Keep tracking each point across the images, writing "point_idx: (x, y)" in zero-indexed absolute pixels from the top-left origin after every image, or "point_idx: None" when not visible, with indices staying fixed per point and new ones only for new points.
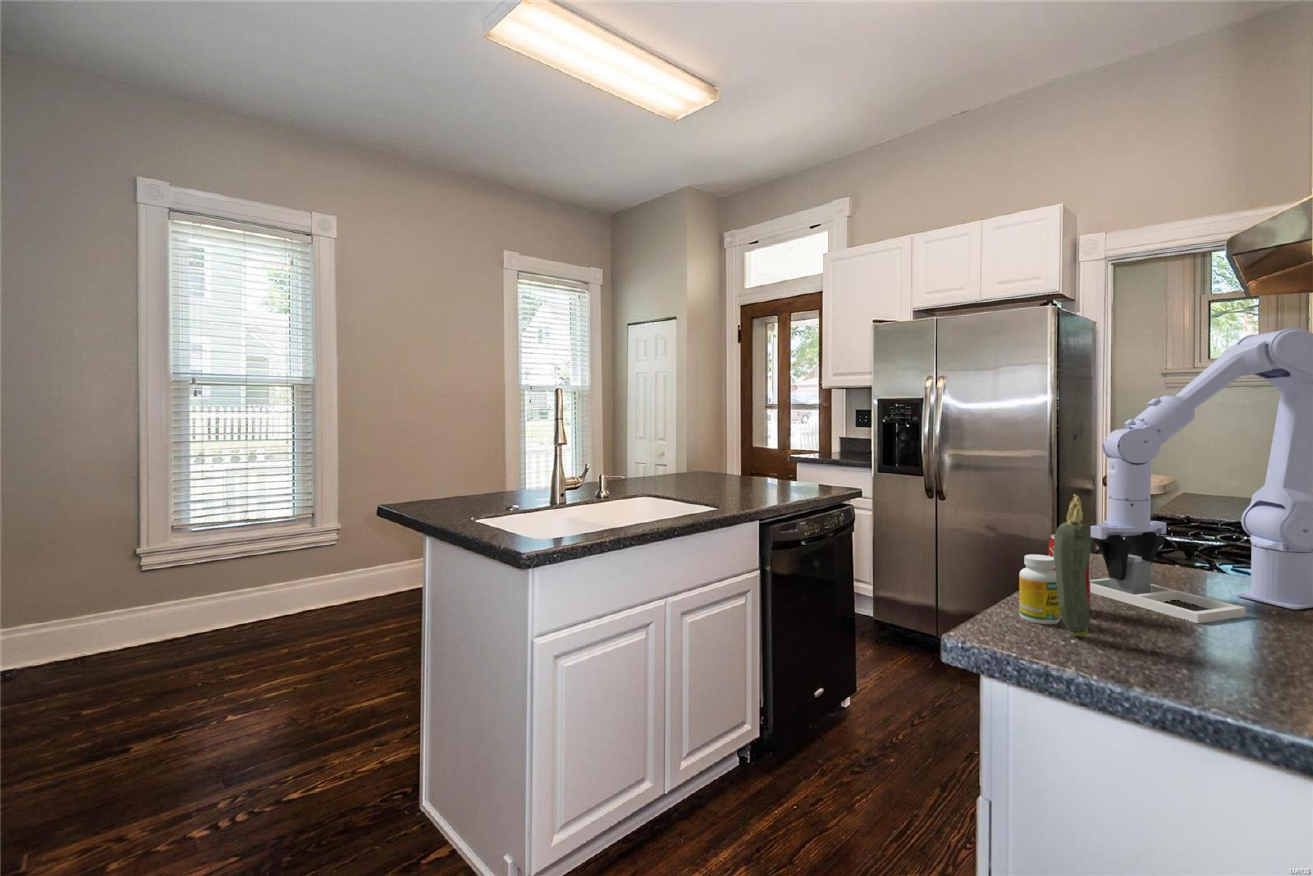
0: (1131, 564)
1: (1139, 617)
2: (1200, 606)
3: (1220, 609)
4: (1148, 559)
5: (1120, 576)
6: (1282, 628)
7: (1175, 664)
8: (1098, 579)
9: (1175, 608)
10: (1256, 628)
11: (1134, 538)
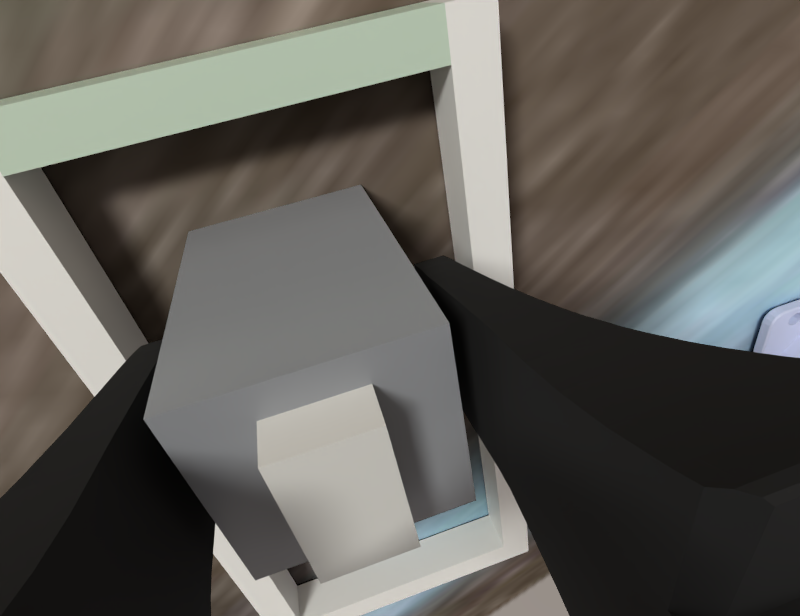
0: (250, 565)
1: None
2: (479, 444)
3: (420, 584)
4: (507, 473)
5: None
6: (500, 583)
7: None
8: (180, 83)
9: (255, 604)
10: (429, 598)
11: (644, 601)
